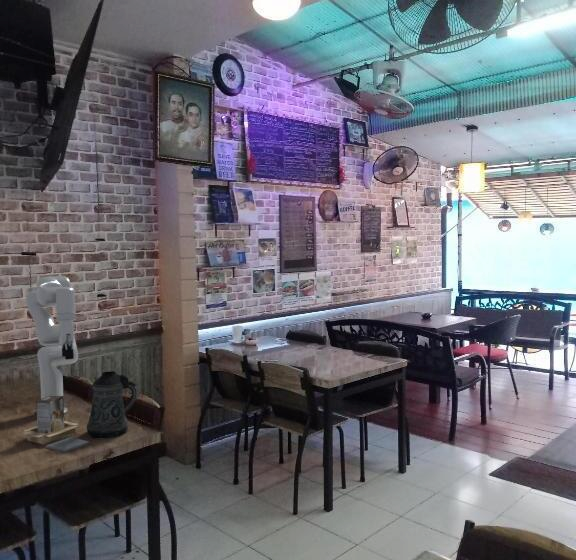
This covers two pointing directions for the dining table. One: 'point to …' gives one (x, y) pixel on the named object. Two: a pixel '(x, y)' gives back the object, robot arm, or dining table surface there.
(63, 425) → the coffee box
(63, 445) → the trivet
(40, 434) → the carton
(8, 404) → the dining table surface
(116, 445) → the dining table surface
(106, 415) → the beer stein
